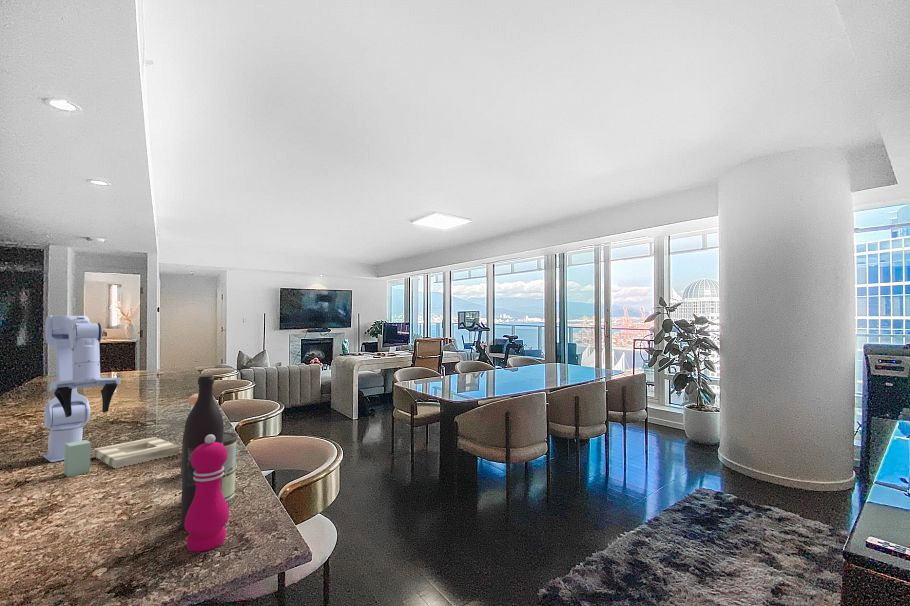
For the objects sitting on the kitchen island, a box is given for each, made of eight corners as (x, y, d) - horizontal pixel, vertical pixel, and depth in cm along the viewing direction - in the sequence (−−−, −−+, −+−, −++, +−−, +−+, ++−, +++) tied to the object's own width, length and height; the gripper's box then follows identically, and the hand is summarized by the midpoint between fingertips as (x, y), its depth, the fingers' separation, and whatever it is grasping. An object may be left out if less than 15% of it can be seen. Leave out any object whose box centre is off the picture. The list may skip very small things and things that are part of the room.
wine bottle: (178, 534, 80) (184, 379, 81) (182, 519, 86) (188, 375, 88) (219, 526, 83) (224, 377, 85) (221, 512, 89) (226, 373, 91)
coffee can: (179, 511, 90) (182, 445, 91) (189, 493, 99) (191, 434, 100) (233, 503, 94) (235, 440, 95) (237, 487, 103) (239, 430, 104)
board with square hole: (94, 456, 126) (94, 448, 126) (155, 444, 139) (155, 436, 139) (115, 469, 115) (115, 459, 116) (178, 454, 129) (179, 446, 129)
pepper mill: (196, 533, 80) (200, 429, 81) (235, 532, 81) (238, 429, 82) (174, 554, 73) (179, 440, 74) (217, 552, 74) (221, 439, 75)
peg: (63, 473, 112) (65, 443, 112) (84, 468, 116) (86, 439, 116) (68, 476, 109) (69, 446, 110) (89, 472, 113) (91, 442, 113)
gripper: (54, 362, 106) (55, 415, 103) (123, 359, 118) (126, 407, 115) (47, 369, 110) (47, 420, 107) (114, 365, 122) (116, 412, 118)
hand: (87, 414), depth 111 cm, fingers open, 7 cm apart
